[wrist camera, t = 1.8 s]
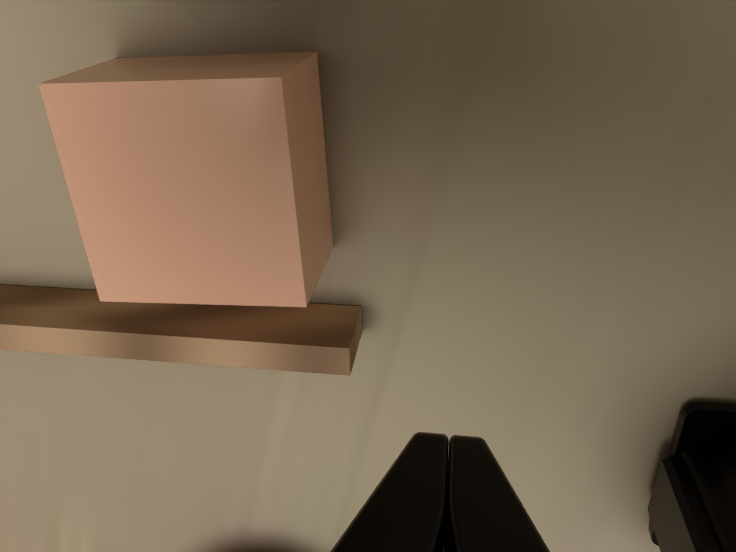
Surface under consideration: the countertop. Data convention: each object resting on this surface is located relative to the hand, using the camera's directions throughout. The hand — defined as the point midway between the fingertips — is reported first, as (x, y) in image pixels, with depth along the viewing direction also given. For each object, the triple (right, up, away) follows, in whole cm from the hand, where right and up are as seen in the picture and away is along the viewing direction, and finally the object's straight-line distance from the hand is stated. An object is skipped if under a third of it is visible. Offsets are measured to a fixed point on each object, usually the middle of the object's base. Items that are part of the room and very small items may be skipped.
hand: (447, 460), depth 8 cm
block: (-5, +6, +12) cm, 14 cm away
